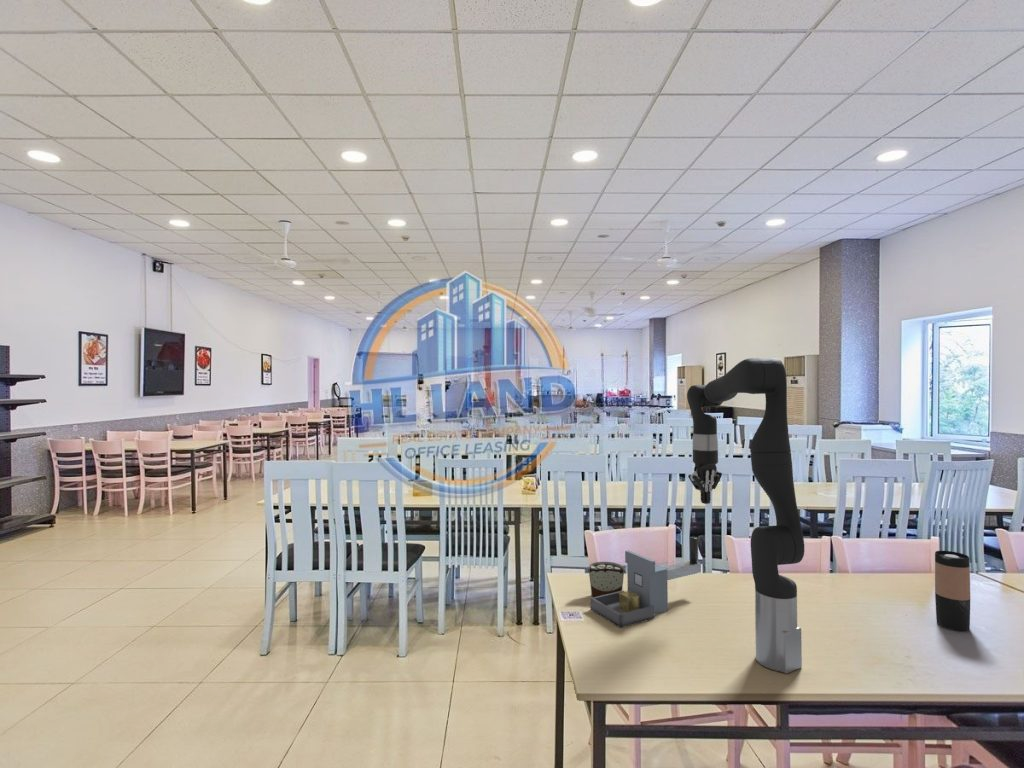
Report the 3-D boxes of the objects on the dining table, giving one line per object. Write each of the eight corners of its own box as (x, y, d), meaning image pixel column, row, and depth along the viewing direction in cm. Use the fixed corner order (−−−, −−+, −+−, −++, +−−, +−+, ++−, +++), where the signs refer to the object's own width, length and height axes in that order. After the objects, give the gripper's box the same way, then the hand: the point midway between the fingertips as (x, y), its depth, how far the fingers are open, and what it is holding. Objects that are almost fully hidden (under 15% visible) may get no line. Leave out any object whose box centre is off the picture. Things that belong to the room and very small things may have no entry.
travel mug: (961, 621, 151) (960, 551, 151) (977, 633, 143) (976, 560, 144) (930, 618, 153) (929, 549, 153) (943, 630, 145) (942, 557, 146)
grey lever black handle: (700, 572, 171) (700, 538, 171) (641, 586, 159) (641, 549, 159) (693, 569, 174) (693, 536, 174) (635, 583, 162) (634, 547, 162)
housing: (670, 612, 158) (669, 558, 159) (652, 616, 155) (651, 561, 155) (642, 598, 169) (642, 547, 169) (625, 602, 166) (625, 550, 166)
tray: (654, 618, 154) (654, 606, 154) (620, 627, 148) (620, 615, 148) (623, 601, 167) (622, 590, 167) (590, 609, 161) (590, 598, 161)
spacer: (639, 595, 158) (628, 598, 156) (639, 610, 158) (629, 613, 156) (629, 590, 162) (619, 593, 160) (629, 605, 162) (619, 607, 160)
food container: (623, 591, 175) (623, 561, 175) (626, 599, 168) (625, 567, 169) (586, 590, 176) (586, 560, 176) (587, 597, 170) (586, 566, 170)
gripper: (699, 450, 160) (700, 508, 160) (729, 448, 166) (730, 503, 166) (680, 448, 166) (681, 503, 166) (710, 445, 173) (710, 498, 172)
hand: (705, 503), depth 166 cm, fingers closed
